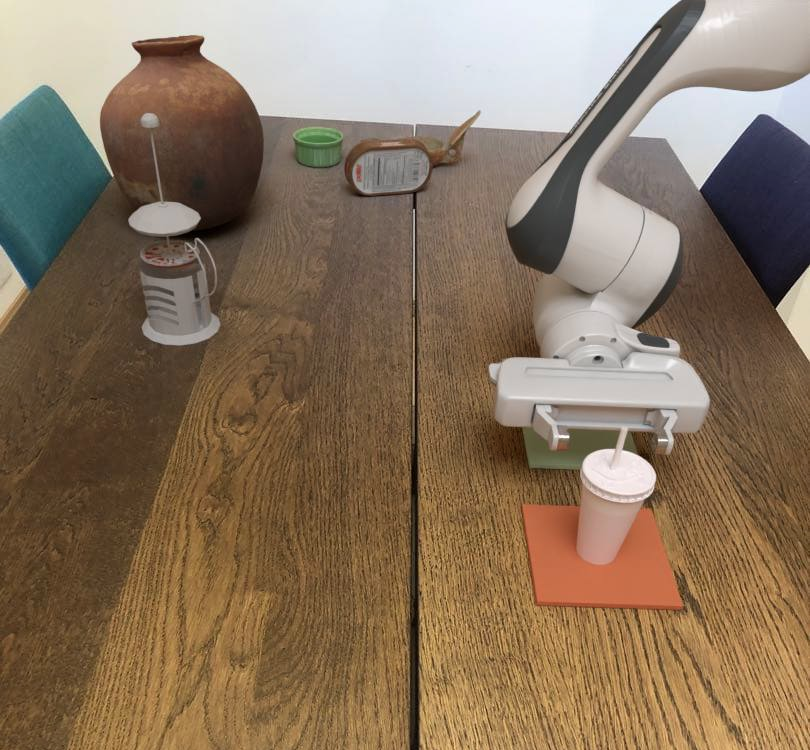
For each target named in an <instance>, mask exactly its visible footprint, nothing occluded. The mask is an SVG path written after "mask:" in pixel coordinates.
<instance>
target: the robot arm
mask: <svg viewBox="0 0 810 750" xmlns="http://www.w3.org/2000/svg"><path fill="white" fill-rule="evenodd" d="M809 75H810V0H679V1H678V2H677V3H676V4H674V5H673V6H671V7H670V8H669V9H668V10H666V12H665V13H664V14H662V16H660V18H659V19H658V20H657V21H655V23H654V24H653V25H652V27H651V28H650V29H649V30H648V31H647V32H646V34H645V35H644V36H643V37H642V38H641V39H640V40H639V42H638V43H637V44H636V45H635V47H634V48H633V49H632V50H631V52H630V53H629V54H628V55H627V57H626V58H625V59H624V60H623V62H622V63H621V64H620V65H619V66H618V68H617V70H615V72H614V73H613V74H612V76H611V77H610V78H609V80H608V81H607V82H606V83H605V85H604V86H603V87H602V89H601V90H600V91H599V93H598V94H597V95H596V96H595V98H594V99H593V101H592V102H591V103H590V104H589V105H588V107H587V108H586V109H585V111H584V112H583V114H581V116H580V117H579V119H578V120H577V121H576V122H575V124H574V125H573V126H572V127H571V129H570V130H569V131H568V132H567V134H566V135H565V136H564V138H563V139H562V140H561V141H560V142H559V144H558V145H557V147H555V149H554V150H552V152H551V153H550V154H549V155H548V156H547V157H546V158H545V159H544V160H543V161H542V162H541V164H540V165H539V166H538V167H537V168H536V169H535V170H534V172H533V173H531V175H530V176H529V177H528V179H527V180H525V182H524V183H523V185H522V186H521V187H520V188H519V190H518V191H517V193H516V194H515V196H514V198H513V200H512V202H511V204H510V206H509V208H508V211H507V214H506V217H505V220H504V227H505V234H506V237H507V241H508V243H509V246H510V249H511V251H512V254H513V256H514V258H515V259H516V261H517V263H519V264H520V265H523V266H525V267H528V268H531V269H532V270H535V271H538V272H541V273H543V275H542V276H541V277H540V279H539V281H538V282H537V285H536V287H535V291H534V295H533V299H532V324H533V330H534V335H535V340H536V343H537V345H538V348H539V356H540V357H524V356H523V357H521V356H519V357H517V356H516V357H515V356H514V357H509V358H502V359H500V361H496V362H493V363H490V364H489V365H488V367H487V371H486V372H487V379H488V382H489V383H490V384H491V386H493V387H495V390H494V399H493V420H495V421H496V422H497V423H498V424H500V425H501V426H503V427H506V428H507V427H509V428H522V427H531V428H533V429H534V431H535V432H536V433H538V434H539V435H540V436H542V437H543V438H544V439H546V440H548V443H549V448H550V450H556V451H566V450H567V444H568V443H569V432H568V429H582V430H607V431H621V428H622V427H627V428H628V431H630V432H632V433H633V432H634V433H635V432H636V433H652V437H651V438H650V441H649V447H650V449H651V450H652V451H651V453H652V454H653V455H665V456H670V455H671V453H672V451H673V447H674V445H675V439H674V436H673V434H684V435H685V434H686V435H694V434H696V433H698V432H699V430H700V429H701V428H702V427H703V425H704V424H705V421H706V418H707V415H708V413H709V409H710V405H711V399H710V394H709V393H708V391H707V389H706V386H705V384H704V382H703V381H702V379H701V378H700V376H699V375H698V373H697V371H696V370H695V368H694V367H693V366H692V365H691V364H690V363H689V362H687V361H686V360H685V359H683V358H680V356H681V355H680V354H681V346H680V344H679V343H678V342H677V341H676V340H674V339H671V338H667V337H664V336H658V335H653V334H650V333H646V332H642V331H639V330H636V329H637V328H638V327H640V326H641V325H642V324H644V323H645V322H647V321H649V319H650V318H651V317H653V316H654V315H656V313H657V312H659V310H660V309H661V308H662V307H663V306H664V305H665V303H666V302H667V301H668V300H669V298H670V297H671V295H672V294H673V293H674V291H675V289H676V288H677V286H678V284H679V281H680V278H681V275H682V271H683V265H684V264H683V263H684V241H683V236H682V232H681V230H680V227H679V226H678V225H677V224H674V223H673V222H671V221H669V220H668V219H667V218H665V217H664V216H661V215H659V214H658V213H656V212H655V211H653V210H651V209H649V208H647V207H646V206H644V205H642V204H641V203H638V202H635V201H634V200H632V199H630V198H628V197H626V196H624V195H623V194H621V193H620V192H618V191H616V190H614V189H612V188H610V187H609V186H607V185H605V184H604V183H603V182H602V181H600V180H599V178H598V177H599V175H600V173H601V171H602V170H603V169H605V167H606V165H607V163H609V161H610V160H611V159H612V158H613V157H614V155H615V154H616V153H617V151H618V150H619V149H620V148H621V147H622V145H623V144H624V143H625V142H626V140H627V139H628V138H629V137H630V135H631V134H632V133H633V132H634V131H635V129H636V128H637V127H638V126H639V124H641V122H642V121H643V120H644V119H645V117H646V116H647V114H648V113H649V112H651V110H652V109H653V107H655V106H656V104H657V103H658V102H660V101H662V99H663V98H665V97H666V96H669V95H670V94H672V93H674V92H677V91H680V90H684V89H688V88H689V89H690V88H711V89H712V88H713V89H723V90H730V91H738V92H749V93H750V92H753V93H755V92H767V91H773V90H777V89H781V88H783V87H787V86H789V85H791V84H794V83H796V82H798V81H800V80H802V79H803V78H805V77H806V76H809Z"/></svg>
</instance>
